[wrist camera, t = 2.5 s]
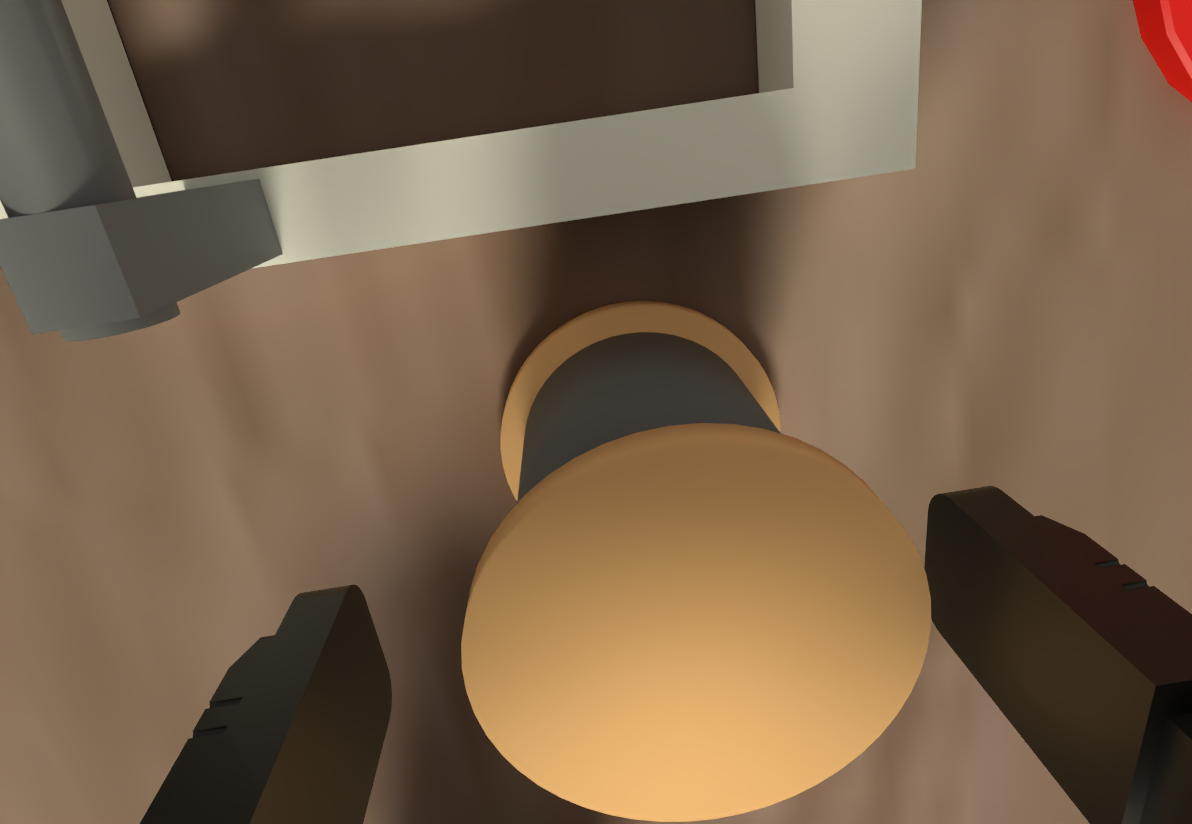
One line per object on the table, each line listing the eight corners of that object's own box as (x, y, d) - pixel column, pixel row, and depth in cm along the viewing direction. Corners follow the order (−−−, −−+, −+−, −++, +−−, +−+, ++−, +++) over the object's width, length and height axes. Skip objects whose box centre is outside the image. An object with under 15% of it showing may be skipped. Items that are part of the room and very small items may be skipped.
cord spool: (766, 280, 14) (944, 407, 8) (777, 528, 16) (921, 788, 10) (477, 323, 14) (409, 487, 8) (528, 565, 16) (509, 848, 10)
